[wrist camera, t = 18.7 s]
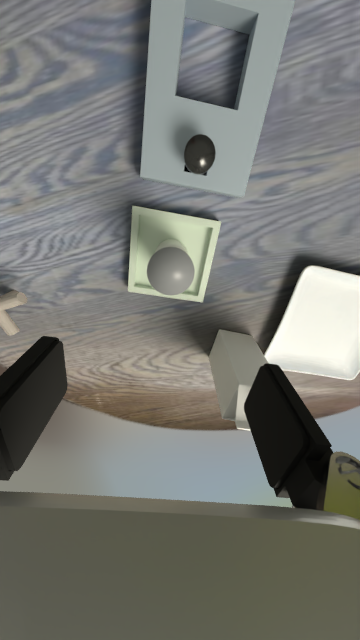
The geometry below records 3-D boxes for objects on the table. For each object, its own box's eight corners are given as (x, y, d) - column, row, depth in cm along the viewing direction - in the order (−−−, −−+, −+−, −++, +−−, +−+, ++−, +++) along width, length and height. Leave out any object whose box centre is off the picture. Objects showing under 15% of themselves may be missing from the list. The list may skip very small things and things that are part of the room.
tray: (218, 221, 33) (221, 221, 31) (201, 298, 39) (202, 302, 37) (134, 205, 32) (132, 205, 30) (129, 288, 38) (127, 291, 36)
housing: (309, -85, 20) (329, -129, 18) (237, 198, 31) (243, 197, 29) (165, -133, 19) (163, -188, 17) (143, 179, 30) (140, 176, 27)
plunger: (211, 150, 28) (219, 137, 24) (205, 181, 30) (211, 176, 25) (185, 144, 28) (187, 130, 23) (180, 176, 30) (181, 170, 25)
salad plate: (296, 259, 36) (307, 264, 33) (405, 280, 38) (424, 287, 35) (253, 357, 46) (259, 368, 43) (342, 370, 48) (354, 381, 45)
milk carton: (239, 362, 46) (276, 451, 29) (208, 356, 45) (227, 445, 28) (252, 335, 43) (302, 417, 26) (218, 328, 42) (248, 409, 25)
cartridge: (191, 240, 33) (198, 251, 25) (186, 276, 36) (190, 297, 27) (154, 235, 33) (148, 245, 24) (152, 272, 36) (145, 292, 27)
